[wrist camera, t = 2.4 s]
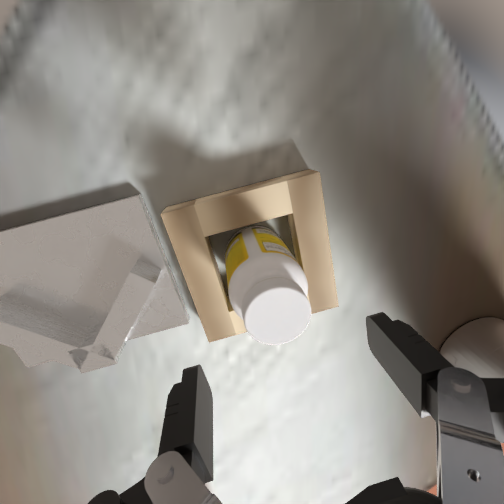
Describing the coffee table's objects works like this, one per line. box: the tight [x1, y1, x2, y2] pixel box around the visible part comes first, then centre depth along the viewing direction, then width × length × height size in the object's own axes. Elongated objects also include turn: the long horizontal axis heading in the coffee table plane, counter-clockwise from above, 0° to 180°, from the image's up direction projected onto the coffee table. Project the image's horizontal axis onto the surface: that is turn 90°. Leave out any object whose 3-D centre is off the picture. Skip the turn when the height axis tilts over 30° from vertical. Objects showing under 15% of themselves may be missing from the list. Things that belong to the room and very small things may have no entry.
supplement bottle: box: [225, 226, 311, 345], centre depth 20 cm, size 5×5×10 cm
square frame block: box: [161, 169, 338, 342], centre depth 24 cm, size 12×12×2 cm
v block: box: [0, 194, 190, 373], centre depth 22 cm, size 15×12×4 cm
